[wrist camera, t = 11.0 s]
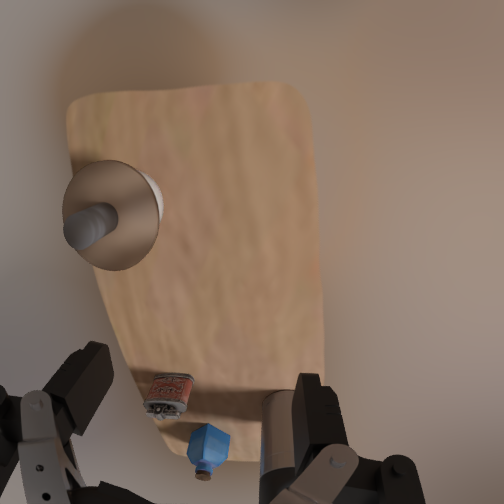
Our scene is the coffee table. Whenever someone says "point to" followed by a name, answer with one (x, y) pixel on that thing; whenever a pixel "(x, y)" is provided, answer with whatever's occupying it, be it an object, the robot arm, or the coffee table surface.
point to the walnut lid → (110, 215)
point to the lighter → (168, 395)
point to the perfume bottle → (207, 450)
